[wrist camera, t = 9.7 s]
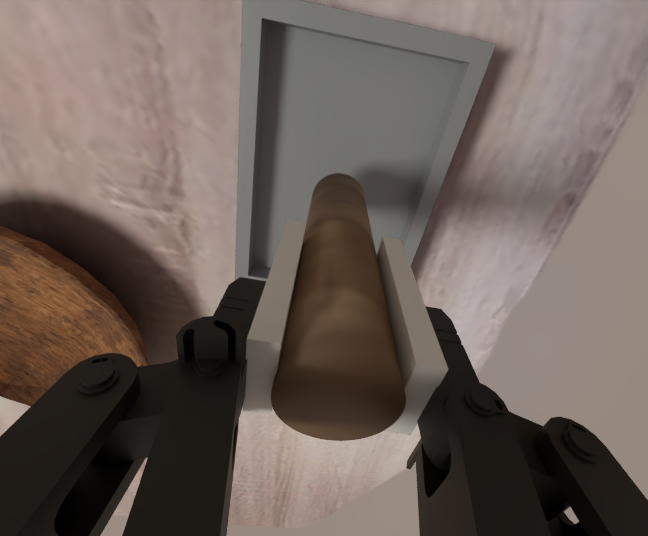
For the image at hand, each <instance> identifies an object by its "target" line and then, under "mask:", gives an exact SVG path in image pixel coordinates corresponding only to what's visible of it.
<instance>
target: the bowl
mask: <svg viewBox="0 0 648 536" xmlns="http://www.w3.org/2000/svg"><path fill="white" fill-rule="evenodd" d="M105 353H119V354H123V355H126V356H128V357H130V358H132V360H133V361H134V362H135V364H136V365H137V367H140V366H147V357H146V347H145V345H144V342H143V340H142V337H141V335H140V332H139V330H138V327H137V326H136V324H135V323H134V322H133V320H132V319H131V317H130V316H129V315H128V313H127V312H126V310H125V309H124V308H123V306H122V305H121V303H120V302H119V301H118V299H117V298H116V296H115V295H114V294H113V293H112V292H110V291H109V290H108V289H107V288H106V287H105V286H103V285H102V284H101V283H100V282H99V281H98V280H96V279H95V278H94V277H93V276H92V275H91V274H89V273H88V272H87V271H86V270H85V269H84V268H82V267H81V266H79V265H78V264H76V263H74V262H73V261H71V260H70V259H68V258H67V257H65V256H64V255H62V254H61V253H59V252H57V251H56V250H54V249H53V248H51V247H50V246H48V245H47V244H45V243H43V242H40V241H38V240H35V239H33V238H30V237H27V236H25V235H22V234H20V233H17V232H15V231H12V230H10V229H7V228H5V227H2V226H0V396H2V397H4V398H7V399H10V400H13V401H16V402H19V403H23V404H26V405H29V406H32V405H33V404H34V403H35V402H36V401H37V400H38V399H39V398H40V397H41V396H42V395H43V394H44V393H45V392H46V391H47V390H49V389H50V388H51V387H52V386H53V385H54V384H55V383H56V382H57V381H58V380H59V379H60V378H61V377H62V376H63V375H64V374H65V373H66V372H67V371H68V370H70V369H71V368H72V367H74V366H75V365H76V364H78V363H79V362H81V361H83V360H85V359H88V358H90V357H92V356H95V355H100V354H105Z"/></svg>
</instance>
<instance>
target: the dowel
mask: <svg viewBox="0 0 648 536" xmlns="http://www.w3.org/2000/svg"><path fill="white" fill-rule="evenodd" d="M271 403H272V407H273V409H274V411H275V413H276V414H277V416H278V417H279V418H280V419H281V420H282V421H283V422H284V423H285V424H287V425H288V426H289V427H291V428H293V429H294V430H296V431H298V432H300V433H303V434H305V435H308V436H311V437H315V438H320V439H325V440H339V441H343V440H355V439H361V438H366V437H369V436H372V435H375V434H378V433H380V432H382V431H384V430H386V429H387V428H389V427H390V426H391V425H393V424H394V423H395V422H396V421H397V420H398V419H399V418H400V416H401V415H402V413H403V411H404V408H405V404H406V395H405V390H404V385H403V381H402V376H401V371H400V366H399V361H398V356H397V352H396V347H395V342H394V337H393V332H392V327H391V323H390V318H389V313H388V308H387V303H386V298H385V294H384V289H383V284H382V279H381V274H380V270H379V265H378V260H377V255H376V250H375V245H374V241H373V236H372V231H371V226H370V221H369V216H368V212H367V207H366V202H365V197H364V192H363V189H362V187H361V185H360V184H359V182H358V181H357V180H356V179H354V178H353V177H351V176H349V175H347V174H342V173H335V174H330V175H328V176H325V177H324V178H322V179H321V180H320V181H319V182H318V183H317V185H316V186H315V188H314V191H313V194H312V199H311V204H310V209H309V213H308V218H307V223H306V228H305V234H304V241H303V246H302V251H301V256H300V261H299V266H298V271H297V276H296V281H295V286H294V291H293V295H292V300H291V305H290V310H289V315H288V320H287V325H286V330H285V335H284V340H283V345H282V349H281V354H280V359H279V364H278V369H277V373H276V375H275V377H274V381H273V386H272V391H271Z"/></svg>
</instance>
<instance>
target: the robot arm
mask: <svg viewBox="0 0 648 536" xmlns="http://www.w3.org/2000/svg"><path fill="white" fill-rule="evenodd" d="M305 228H306V223H304V222H299V221H293V220H287V222H286V225H285V228H284V231H283V234H282V237H281V240H280V243H279V246H278V249H277V252H276V255H275V258H274V261H273V263H272V266H271V269H270V272H269V275H268V278H267V281H261V280H255V279H249V278H243V277H239V278H238V279H237V280H235V281H234V282H233V283H231V284H230V285H229V286H228V288H227V290H226V292H225V294H224V296H223V298H222V300H221V302H220V304H219V307H217V309H216V311H215V313H214V315H213V316H210V317H202V318H199V319H196V320H193V321H191V322H189V323H188V324H187V325H185V326H184V327H182V328H181V330H180V331H179V333H178V334H177V336H176V339H177V349H178V358H179V359H178V360H176V361H173V362H169V363H164V364H157V365H148V366H140V367H137V365H136V364H135V362H134V361H133V360H132V358H130V357H128V356H126V355H123V354H119V353H105V354H100V355H95V356H92V357H90V358H88V359H85V360H83V361H81V362H79V363H78V364H76V365H75V366H74V367H72V368H71V369H70V370H68V371H67V372H66V373H65V374H64V375H63V376H62V377H61V378H60V379H59V380H58V381H57V382H56V383H55V384H54V385H53V386H52V387H51V388H50V389H49V390H47V391H46V392H45V393H44V394H43V395H42V396H41V397H40V398H39V399H38V400H37V401H36V402H35V403H34V404H33V405H32V406H31V407H30V408H29V409H28V410H27V411H26V412H25V413H24V414H23V415H22V416H21V417H20V418H19V419H18V420H17V421H16V422H15V423H14V424H13V425H12V426H11V427H10V428H9V429H8V430H7V431H6V432H5V433H4V434H3V435H2V436H1V437H0V536H100V535H101V533H102V532H103V530H104V528H105V526H106V525H107V523H108V521H109V520H110V518H111V516H112V514H113V513H114V511H115V509H116V508H117V506H118V504H119V502H120V501H121V499H122V497H123V496H124V494H125V492H126V490H127V489H128V487H129V485H130V484H131V482H132V480H133V478H134V477H135V475H136V473H137V472H138V470H139V468H140V466H141V465H142V463H143V461H144V460H145V458H148V459H147V462H146V466H145V469H144V472H143V475H142V478H141V481H140V484H139V487H138V490H137V493H136V496H135V499H134V502H133V505H132V508H131V511H130V514H129V517H128V520H127V523H126V526H125V529H124V532H123V535H122V536H226V534H227V525H228V516H229V507H230V498H231V489H232V480H233V471H234V462H235V453H236V444H237V435H238V422H239V417H240V413H241V410H242V406H243V411H244V412H251V413H258V414H265V415H271V411H272V403H271V391H272V386H273V381H274V377H275V375H276V373H277V369H278V364H279V359H280V354H281V349H282V345H283V340H284V335H285V330H286V325H287V320H288V315H289V310H290V305H291V300H292V295H293V291H294V286H295V281H296V276H297V271H298V266H299V261H300V256H301V251H302V246H303V241H304V234H305ZM377 260H378V265H379V270H380V274H381V279H382V284H383V289H384V294H385V298H386V303H387V308H388V313H389V318H390V323H391V327H392V332H393V337H394V342H395V347H396V352H397V356H398V361H399V366H400V371H401V376H402V381H403V385H404V390H405V395H406V404H405V408H404V411H403V413H402V415H401V416H400V418H399V419H398V420H397V421H396V422H395V423H394V424H393V425H391V426H390V427H389V428H387V429H386V430H384V431H388V432H395V433H402V434H409V435H411V433H412V432H413V430H414V428H415V426H416V425H417V423H418V426H419V430H420V435H421V439H420V441H419V442H418V444H417V446H416V447H415V449H414V451H413V452H412V454H411V455H410V457H409V459H408V461H407V467H406V468H408V469H411V467H412V466H413V465H414V463H415V461H416V471H417V488H418V489H417V490H418V508H419V528H420V536H648V500H647V499H646V498H645V496H644V495H643V494H642V492H641V491H640V490H639V489H638V487H637V486H636V485H635V483H634V482H633V481H632V480H631V478H630V477H629V476H628V474H627V473H626V472H625V471H624V469H623V468H622V467H621V465H620V464H619V463H618V462H617V461H616V459H615V458H614V456H613V455H612V454H611V453H610V451H609V450H608V449H607V448H606V446H605V445H604V444H603V443H602V442H601V441H600V440H599V439H598V438H597V437H596V436H595V435H594V434H593V433H591V432H590V431H589V430H588V429H586V428H585V427H584V426H582V425H580V424H578V423H576V422H574V421H573V420H571V419H567V418H563V417H555V418H551V419H550V420H549V421H548V422H547V423H546V424H545V425H544V426H541V425H539V424H536V423H534V422H532V421H529V420H527V419H525V418H522V417H520V416H518V415H515V414H513V413H511V412H509V411H508V409H507V407H506V405H505V403H504V402H503V400H502V399H501V398H500V397H499V396H498V395H497V394H496V393H495V392H494V391H492V390H491V389H490V388H488V387H487V386H485V385H483V384H481V383H480V382H479V380H478V378H477V376H476V373H475V371H474V369H473V367H472V365H471V362H470V360H469V358H468V356H467V354H466V351H465V349H464V347H463V345H461V340H460V338H459V336H458V335H457V331H456V329H455V327H454V325H453V323H452V320H451V319H450V318H449V317H448V316H447V315H446V314H445V313H444V312H443V311H442V310H441V309H438V308H432V307H425V304H424V302H423V299H422V296H421V293H420V291H419V288H418V285H417V283H416V280H415V277H414V274H413V272H412V269H411V266H410V264H409V261H408V258H407V255H406V253H405V250H404V247H403V245H402V242H401V240H400V239H395V238H389V237H383V236H382V240H381V243H380V246H379V249H378V253H377ZM569 507H571V508H572V510H573V511H574V513H575V515H576V516H577V518H578V520H579V522H578V523H577V524H574V523H573V522H572V521H571V520H569V519H568V517H567V516H566V514H565V513H564V511H565V510H566V509H568V508H569Z"/></svg>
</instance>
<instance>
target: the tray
mask: <svg viewBox="0 0 648 536" xmlns="http://www.w3.org/2000/svg"><path fill="white" fill-rule="evenodd" d="M495 46H496V43H492V42H487V41H482V40H478V39H473V38H469V37H464V36H460V35H455V34H451V33H446V32H442V31H437V30H432V29H428V28H423V27H419V26H414V25H410V24H405V23H401V22H396V21H392V20H387V19H382V18H378V17H373V16H369V15H364V14H360V13H355V12H351V11H346V10H342V9H337V8H332V7H328V6H323V5H319V4H314V3H310V2H305V1H301V0H242V29H241V68H240V106H239V144H238V182H237V221H236V259H235V280H237V279H238V278H239V277H243V278H249V279H255V280H261V281H267V278H268V275H269V272H270V269H271V266H272V263H273V261H274V258H275V255H276V252H277V249H278V246H279V243H280V240H281V237H282V234H283V231H284V228H285V225H286V222H287V220H293V221H299V222H304V223H307V218H308V213H309V209H310V204H311V199H312V194H313V191H314V188H315V186H316V185H317V183H318V182H319V181H320V180H321V179H322V178H324V177H325V176H328V175H330V174H335V173H342V174H347V175H349V176H351V177H353V178H354V179H356V180H357V181H358V182H359V184H360V185H361V187H362V189H363V192H364V197H365V202H366V207H367V212H368V216H369V221H370V226H371V231H372V236H373V241H374V245H375V250H376V255H377V253H378V249H379V246H380V243H381V240H382V236H383V237H389V238H395V239H400V240H401V242H402V245H403V247H404V250H405V253H406V255H407V258H408V261H409V264H410V266H411V264H412V262H413V259H414V256H415V254H416V251H417V249H418V246H419V243H420V241H421V238H422V236H423V233H424V230H425V228H426V225H427V223H428V220H429V217H430V215H431V212H432V210H433V207H434V204H435V202H436V199H437V197H438V194H439V191H440V189H441V186H442V184H443V181H444V178H445V176H446V173H447V171H448V168H449V165H450V163H451V160H452V158H453V155H454V152H455V150H456V147H457V145H458V142H459V139H460V137H461V134H462V132H463V129H464V126H465V124H466V121H467V119H468V116H469V113H470V111H471V108H472V106H473V103H474V100H475V98H476V95H477V93H478V90H479V87H480V85H481V82H482V80H483V77H484V74H485V72H486V69H487V67H488V64H489V61H490V59H491V56H492V54H493V51H494V48H495Z"/></svg>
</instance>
